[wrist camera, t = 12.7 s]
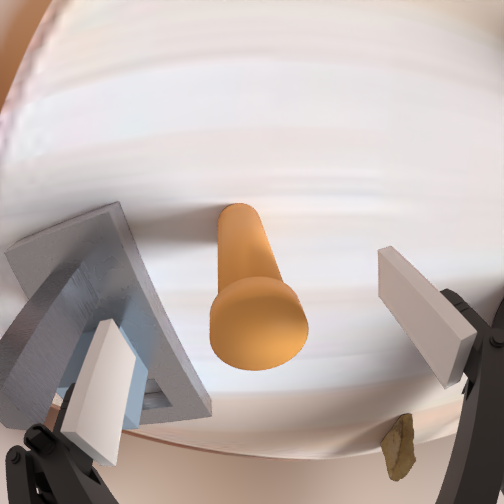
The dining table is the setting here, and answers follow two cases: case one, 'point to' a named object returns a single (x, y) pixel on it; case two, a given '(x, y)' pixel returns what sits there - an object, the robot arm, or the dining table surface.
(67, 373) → the light blue block
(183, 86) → the dining table surface
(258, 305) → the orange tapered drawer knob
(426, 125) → the dining table surface
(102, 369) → the robot arm
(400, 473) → the rock
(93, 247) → the gray base set
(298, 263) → the dining table surface
